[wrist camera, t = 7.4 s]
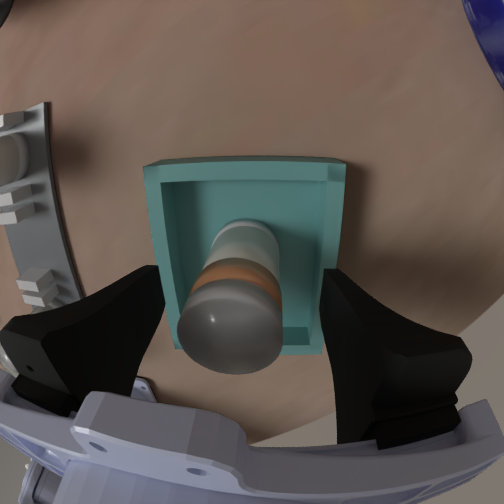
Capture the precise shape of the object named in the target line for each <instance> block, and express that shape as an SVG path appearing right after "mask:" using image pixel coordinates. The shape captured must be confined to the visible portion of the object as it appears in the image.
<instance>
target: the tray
mask: <svg viewBox="0 0 504 504" xmlns="http://www.w3.org/2000/svg"><path fill="white" fill-rule="evenodd" d="M143 172H144V182H145V191H146V199H147V207H148V214H149V222H150V228H151V235H152V241H153V247H154V253H155V259H156V264H157V265H158V266H159V272H160V277H161V282H162V287H163V292H164V297H165V302H166V304H165V309H166V313H167V317H168V322H169V326H170V330H171V334H172V338H173V342H174V346H175V349H183V348H182V347H181V345H180V343H179V340H178V337H177V324H178V321H179V318H180V316H181V313H182V311H183V309H184V306H185V304H186V301H187V299H188V297H189V294H190V292H191V290H192V287H193V285H194V283H195V281H196V278H197V277H198V275H199V273H200V272H201V271H202V269H203V266H204V264H205V262H206V260H207V257H208V255H209V253H210V251H211V246H212V244H213V241H214V239H215V237H216V235H217V233H218V232H219V230H220V229H221V228H222V227H223V226H224V225H225V224H227V223H228V222H230V221H232V220H235V219H240V218H251V219H255V220H259V221H261V222H263V223H264V224H266V225H267V226H268V227H270V228H271V230H272V231H273V232H274V233H275V235H276V237H277V240H278V243H279V255H280V259H279V277H280V288H281V292H282V312H283V347H282V350H281V352H280V354H279V355H306V354H321V353H322V348H323V343H324V336H323V333H322V328H321V322H320V314H319V303H320V296H321V288H322V280H323V272H324V268H327V269H336V265H337V258H338V250H339V241H340V232H341V223H342V213H343V201H344V189H345V174H346V164H345V163H343V162H341V161H339V160H338V159H336V158H325V157H304V156H217V157H196V158H181V159H168V160H159V161H157V162H154V163H151V164H149V165H146V166H144V167H143Z"/></svg>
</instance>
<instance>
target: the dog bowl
mask: <svg viewBox="0 0 504 504" xmlns="http://www.w3.org/2000/svg"><path fill="white" fill-rule="evenodd" d="M462 3H463V6H464V10H465V12H466V15H467V18H468V20H469V23H470V25H471V28H472V30H473V33H474V35H475V37H476V39H477V42H478V44H479V46H480V48H481V50H482V52H483V54H484V56H485V58H486V60H487V62H488V64H489V65H490V67H491V69H492V71H493V73H494V75H495V76H496V78H497V80H498V81H499V83H500V85H501V87H502V88H503V90H504V0H462Z"/></svg>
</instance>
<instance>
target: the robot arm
mask: <svg viewBox="0 0 504 504" xmlns="http://www.w3.org/2000/svg"><path fill="white" fill-rule="evenodd" d="M165 304H166V302H165V297H164V292H163V287H162V282H161V277H160V272H159V266H158V265H145V266H143V267H141V268H139V269H137V270H135V271H133V272H131V273H130V274H128V275H126V276H124V277H123V278H121V279H119V280H118V281H116V282H114V283H112V284H111V285H109V286H107V287H105V288H103V289H101V290H100V291H98V292H96V293H94V294H92V295H90V296H88V297H85V298H83V299H81V300H78V301H76V302H73V303H70V304H67V305H65V306H62V307H59V308H55V309H52V310H48V311H44V312H40V313H35V314H28V315H22V316H15V317H13V318H12V319H11V320H10V321H9V322H8V323H7V324H6V325H5V326H4V327H3V329H2V330H1V331H0V342H1V345H2V347H3V349H4V351H5V353H6V354H7V356H8V358H9V359H10V361H11V362H12V364H13V365H14V367H15V369H16V370H17V372H18V373H19V375H18V376H17V378H15V377H14V376H12V375H11V374H10V373H8V372H6V371H4V370H2V369H0V436H1V437H2V438H3V439H4V440H6V441H7V442H8V443H10V444H11V445H12V446H14V447H15V448H17V449H18V450H20V451H21V452H23V453H24V454H26V455H27V456H28V457H30V458H31V459H32V460H31V462H30V464H29V467H28V469H27V472H26V474H25V477H24V480H23V483H22V490H21V493H20V495H19V498H18V502H19V503H20V504H417V503H420V502H422V501H425V500H428V499H430V498H432V497H435V496H437V495H440V494H442V493H445V492H447V491H449V490H451V489H453V488H456V487H458V486H460V485H462V484H465V483H467V482H469V481H470V480H472V479H473V478H475V477H476V476H477V475H479V474H480V473H482V472H483V471H484V470H486V469H487V468H488V467H489V466H491V465H492V464H493V463H494V462H496V461H497V460H498V459H500V457H502V456H503V455H504V436H503V434H502V431H501V429H500V427H499V424H498V422H497V420H496V418H495V416H494V414H493V412H492V409H491V407H490V405H489V403H488V401H487V400H486V399H484V400H481V401H478V402H476V403H473V404H470V405H467V406H465V407H463V408H461V409H460V410H459V411H457V409H456V407H455V404H456V403H457V402H458V398H457V396H456V394H455V391H456V390H457V389H458V387H459V386H460V384H461V383H462V381H463V380H464V378H465V377H466V375H467V374H468V372H469V370H470V367H471V364H472V355H471V353H470V351H469V350H468V348H467V346H466V345H465V343H464V342H463V340H462V339H461V337H458V336H454V335H450V334H446V333H443V332H439V331H436V330H433V329H430V328H428V327H425V326H423V325H420V324H418V323H415V322H413V321H411V320H409V319H407V318H405V317H403V316H401V315H399V314H397V313H396V312H394V311H392V310H391V309H389V308H387V307H386V306H384V305H383V304H381V303H380V302H378V301H377V300H376V299H374V298H373V297H372V296H370V295H369V294H368V293H366V292H365V291H364V290H363V289H362V288H360V287H359V286H358V285H357V284H356V283H354V282H353V281H352V280H351V279H350V278H349V277H348V276H346V275H345V274H344V273H343V272H342V271H340V270H339V269H327V268H324V272H323V280H322V288H321V296H320V303H319V314H320V322H321V328H322V333H323V336H324V340H325V344H326V348H327V352H328V356H329V360H330V364H331V369H332V374H333V382H334V391H335V403H336V419H337V445H326V446H314V447H313V446H311V447H281V448H280V447H254V446H249V445H247V437H246V434H245V432H244V431H243V429H242V428H241V426H240V425H239V424H238V423H237V422H235V421H233V420H231V419H229V418H227V417H225V416H223V415H222V414H220V413H215V412H211V411H206V410H202V409H198V408H190V407H183V406H176V405H169V404H163V403H157V401H156V399H155V397H154V395H153V392H152V390H151V388H150V386H149V383H148V382H147V381H146V380H145V379H142V378H136V375H137V372H138V369H139V366H140V363H141V361H142V358H143V356H144V354H145V352H146V350H147V348H148V346H149V343H150V341H151V339H152V337H153V335H154V333H155V331H156V329H157V327H158V325H159V323H160V320H161V317H162V314H163V311H164V308H165Z"/></svg>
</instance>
